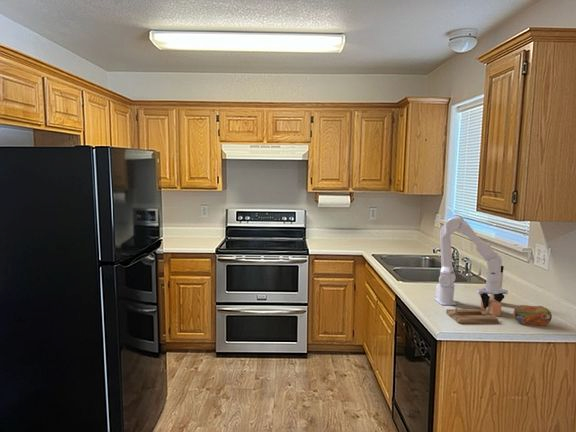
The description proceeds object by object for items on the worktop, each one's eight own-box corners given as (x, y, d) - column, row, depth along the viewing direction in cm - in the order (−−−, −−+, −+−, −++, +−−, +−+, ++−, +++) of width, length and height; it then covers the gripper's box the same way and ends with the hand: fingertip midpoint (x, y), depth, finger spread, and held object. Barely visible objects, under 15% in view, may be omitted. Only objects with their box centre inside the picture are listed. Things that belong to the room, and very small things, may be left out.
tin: (514, 323, 181) (516, 305, 180) (511, 321, 184) (513, 303, 183) (551, 326, 179) (553, 308, 178) (547, 324, 182) (549, 305, 181)
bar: (480, 308, 200) (481, 296, 199) (488, 308, 201) (489, 296, 200) (492, 315, 190) (493, 303, 190) (500, 315, 191) (501, 303, 190)
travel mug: (492, 305, 204) (495, 266, 202) (483, 300, 211) (487, 263, 208) (503, 305, 205) (507, 266, 203) (494, 300, 212) (498, 263, 209)
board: (446, 313, 191) (446, 303, 191) (482, 313, 193) (483, 303, 192) (458, 323, 180) (459, 312, 179) (497, 323, 181) (498, 312, 180)
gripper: (483, 283, 189) (480, 311, 191) (513, 283, 190) (510, 311, 192) (475, 279, 196) (472, 306, 198) (503, 279, 197) (501, 306, 199)
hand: (490, 308), depth 195 cm, fingers open, 5 cm apart
